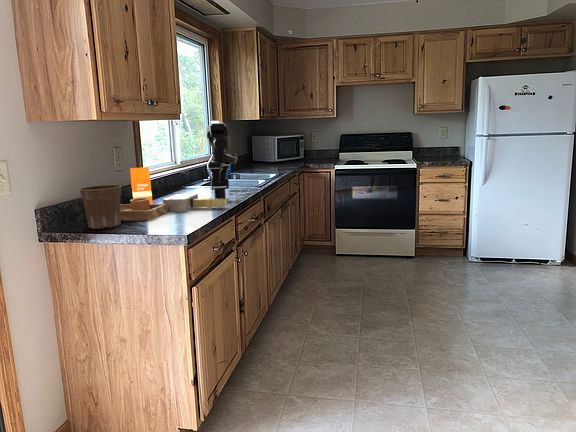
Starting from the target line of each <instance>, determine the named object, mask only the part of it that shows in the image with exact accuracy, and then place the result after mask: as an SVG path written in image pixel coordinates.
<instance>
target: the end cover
mask: <svg viewBox="0 0 576 432" xmlns="http://www.w3.org/2000/svg"><path fill="white" fill-rule="evenodd" d="M227 199H228V198H226V199H215V198H214V197H209V198H198V199H194V200H193V206H194V207H195V208H207V209H212V208H226V207H228V200H227Z"/></svg>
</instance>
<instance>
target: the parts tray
mask: <svg viewBox="0 0 576 432" xmlns="http://www.w3.org/2000/svg"><path fill="white" fill-rule="evenodd" d="M127 209H131V203H130V204H129V203H127V204H126V203H125V204H122V203H120V219H121V221H152V220H154V219H157V218H158V217H159V218H160V217H161V216H164V215H165V214H168V213H169V212H168V208H167V204H163V203H153V204H150V210H148V211H123V210H127Z"/></svg>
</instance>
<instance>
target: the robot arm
mask: <svg viewBox="0 0 576 432" xmlns="http://www.w3.org/2000/svg"><path fill="white" fill-rule="evenodd" d="M205 129H206V139H207V140H208V144H209V145H210V147H211V150H212V152H211V153H212V159H213V160H212V161H210V162H208V164H207V166H208V167H207V168H208V169H209V171H210V172H211V174H212V176H211V178H210V189H211V191H214V192H213V193H214V199H227V201H228V200H229V198H227V196H226V195H227V194H226V190H228V189H230V181H229V178H228V177H227V175H228V170H229V168H230V167H231V166H232V165H236V164H237V162H238V160H239V158H238V154H236V153H232V154H229V153H228V150H226V148H227V146H228V143H227V140H226V139H225V138H227V137H228V136H229V130H228V126H227V125H226V124H225V122H221V121H220V120H210V121H209V124H208V126H207V127H206V128H205Z"/></svg>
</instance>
